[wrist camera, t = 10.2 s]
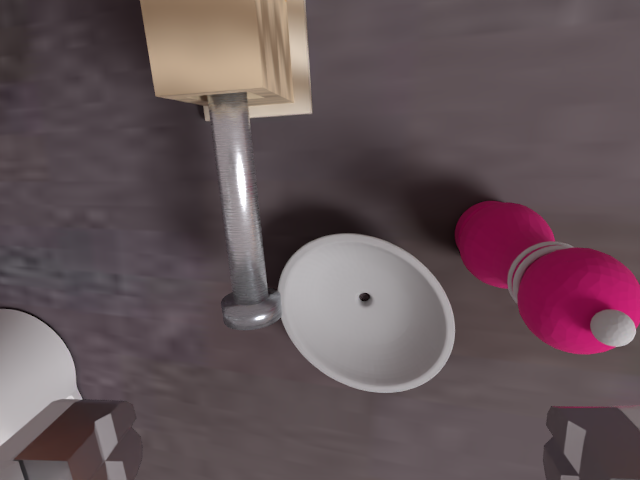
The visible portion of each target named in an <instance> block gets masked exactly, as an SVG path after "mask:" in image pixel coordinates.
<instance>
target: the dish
mask: <svg viewBox="0 0 640 480" xmlns="http://www.w3.org/2000/svg"><path fill="white" fill-rule="evenodd" d="M278 291H279V292H280V295H281V305H282V316H281V320H282V322H283V325H284V327H285V329H286V331H287V334H288V335H289V337H290V339H291V340H292V342H293V343H294V345H295V346H296V348H297V349H298V350H299V351H300V352H301V354H302V355H303V356H304V357H305V358H306V359H307V360H308V361H309V362H310V363H311V364H313V365H314V366H315V367H316V368H318V369H319V370H320V371H322V372H323V373H325V374H326V375H328V376H329V377H331V378H333V379H335V380H336V381H339V382H341V383H343V384H345V385H348V386H351V387H354V388H357V389H360V390H365V391H370V392H380V393H391V392H400V391H405V390H409V389H412V388H415V387H417V386H420V385H422V384H424V383H425V382H427V381H429V380H430V379H431V378H433V377H434V376H435V375H436V374H437V373H438V372H439V371H440V370H441V369H442V368H443V366H444V365H445V363H446V362H447V360H448V358H449V356H450V354H451V351H452V348H453V343H454V337H455V323H454V316H453V312H452V308H451V305H450V303H449V300H448V298H447V296H446V294H445V291H444V290H443V288H442V287H441V285H440V283H439V282H438V281H437V279H436V278H435V277H434V275H433V274H432V273H431V272H430V271H429V270H428V269H427V268H426V267H425V266H424V265H423V264H422V263H421V262H420V261H419V260H417V259H416V258H415V257H414V256H412V255H411V254H409V253H408V252H407V251H405V250H403V249H402V248H400V247H398V246H396V245H394V244H392V243H390V242H387V241H385V240H382V239H379V238H376V237H372V236H368V235H362V234H354V233H340V234H332V235H327V236H323V237H320V238H317V239H315V240H313V241H310V242H309V243H307V244H305V245H304V246H302V247H301V248H300V249H298V250H297V251H296V252H295V253H294V254H293V255H292V256H291V258H290V259H289V260H288V262H287V263H286V265H285V267H284V269H283V271H282V273H281V276H280V280H279V284H278ZM361 293H368V294H369V295H370V298H369V300H368V301H362V300H360V298H359V295H360V294H361Z"/></svg>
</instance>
